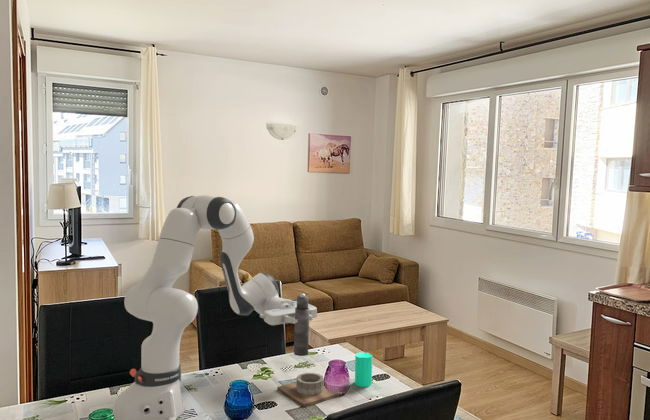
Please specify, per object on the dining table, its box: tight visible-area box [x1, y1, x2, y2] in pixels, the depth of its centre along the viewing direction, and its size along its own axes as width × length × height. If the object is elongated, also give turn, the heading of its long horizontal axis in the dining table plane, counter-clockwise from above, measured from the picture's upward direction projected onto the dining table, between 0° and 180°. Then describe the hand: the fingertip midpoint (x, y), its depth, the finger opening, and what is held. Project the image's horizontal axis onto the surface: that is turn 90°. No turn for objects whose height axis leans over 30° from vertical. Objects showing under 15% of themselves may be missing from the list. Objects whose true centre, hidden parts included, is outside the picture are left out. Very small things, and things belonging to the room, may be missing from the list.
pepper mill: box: [293, 293, 310, 357], centre depth 175 cm, size 5×5×21 cm
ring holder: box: [276, 372, 340, 408], centre depth 171 cm, size 16×16×5 cm
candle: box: [354, 352, 373, 388], centre depth 179 cm, size 6×6×12 cm
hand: (303, 319), depth 174 cm, fingers closed on pepper mill, 5 cm apart
